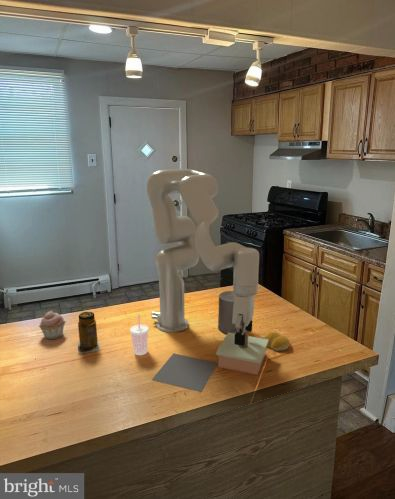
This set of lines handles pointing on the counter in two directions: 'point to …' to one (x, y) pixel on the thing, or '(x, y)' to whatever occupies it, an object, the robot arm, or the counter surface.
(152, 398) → the counter surface
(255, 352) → the lid
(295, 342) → the counter surface
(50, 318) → the cupcake
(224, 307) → the pillar candle
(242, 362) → the open box
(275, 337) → the bread roll
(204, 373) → the mat
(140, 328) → the beverage cup
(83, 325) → the condiment
